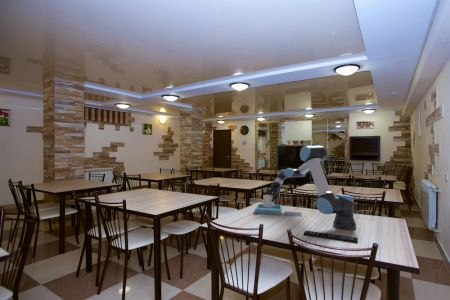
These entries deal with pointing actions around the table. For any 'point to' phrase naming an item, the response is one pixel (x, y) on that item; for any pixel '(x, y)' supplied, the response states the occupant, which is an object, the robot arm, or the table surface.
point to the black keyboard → (331, 236)
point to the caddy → (267, 201)
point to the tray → (268, 209)
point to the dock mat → (293, 214)
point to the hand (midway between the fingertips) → (266, 203)
